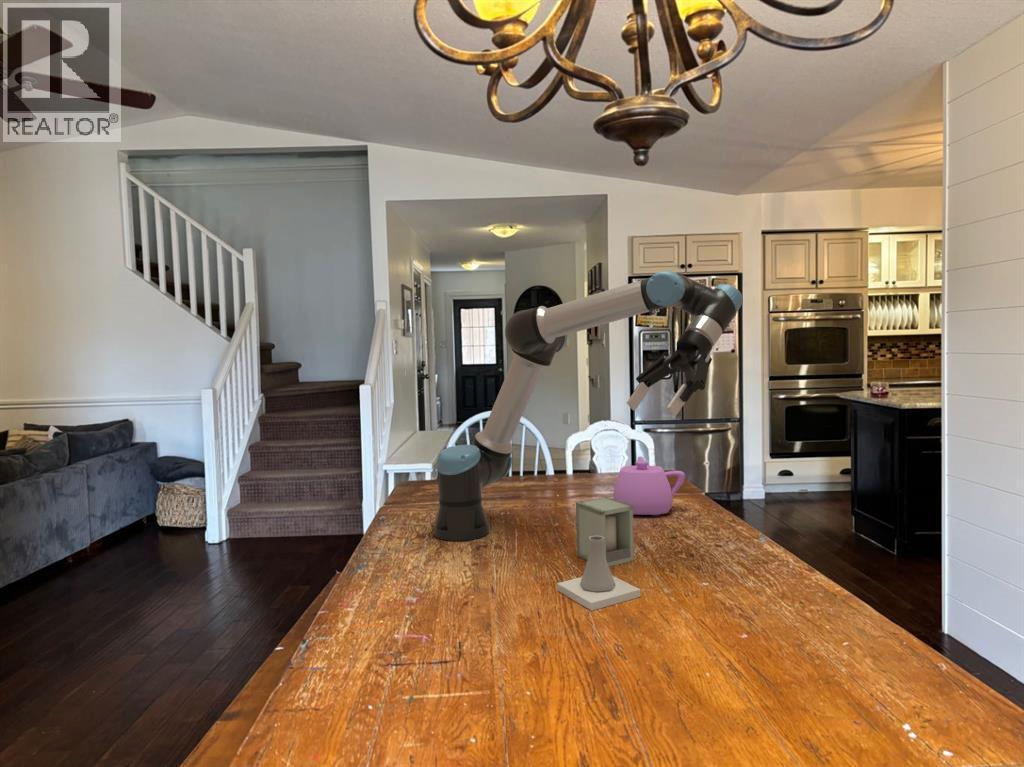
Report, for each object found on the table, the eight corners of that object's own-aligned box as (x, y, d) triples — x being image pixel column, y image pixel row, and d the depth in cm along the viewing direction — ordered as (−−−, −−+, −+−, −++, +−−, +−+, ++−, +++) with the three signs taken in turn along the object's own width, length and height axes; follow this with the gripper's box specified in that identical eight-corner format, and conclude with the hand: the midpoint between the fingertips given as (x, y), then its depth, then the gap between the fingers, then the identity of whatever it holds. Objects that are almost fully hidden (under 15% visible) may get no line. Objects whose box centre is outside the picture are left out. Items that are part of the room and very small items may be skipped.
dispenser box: (577, 556, 152) (575, 502, 151) (607, 549, 156) (606, 497, 155) (602, 568, 143) (601, 511, 142) (634, 560, 147) (632, 505, 146)
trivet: (557, 590, 131) (557, 583, 131) (603, 578, 137) (603, 571, 137) (591, 610, 121) (591, 603, 120) (640, 596, 126) (640, 589, 126)
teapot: (688, 519, 179) (687, 467, 178) (612, 518, 183) (611, 466, 182) (681, 499, 201) (681, 452, 200) (614, 498, 205) (613, 452, 204)
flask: (615, 593, 125) (614, 543, 124) (578, 592, 126) (577, 543, 125) (615, 579, 132) (614, 532, 131) (581, 578, 133) (579, 532, 132)
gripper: (749, 350, 138) (700, 424, 132) (669, 351, 160) (624, 415, 154) (732, 326, 135) (681, 401, 129) (653, 330, 157) (606, 394, 151)
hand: (650, 409), depth 141 cm, fingers open, 13 cm apart
